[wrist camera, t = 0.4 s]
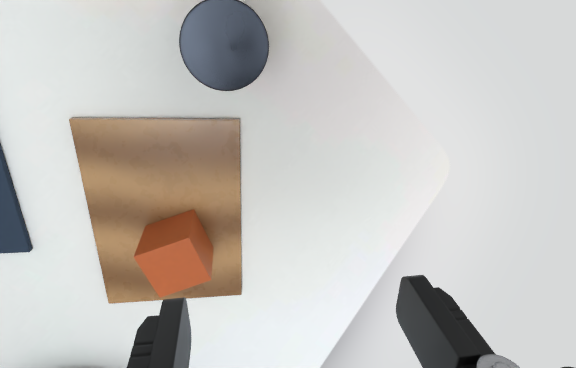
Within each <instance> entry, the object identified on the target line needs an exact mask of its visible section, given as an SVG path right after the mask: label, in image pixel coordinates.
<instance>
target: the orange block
mask: <svg viewBox="0 0 576 368" xmlns="http://www.w3.org/2000/svg"><path fill="white" fill-rule="evenodd" d="M134 259H135V260H136V262H137V263H138V265H139V266H140V268H141V269H142V271H143V273H144V274H145V276H146V277H147V279H148V280H149V282H150V283H151V285H152V286H153V288H154V290H155V291H156V293H157V294H158V296H159V297H160V298H161V297H164V296H167V295H170V294H173V293H176V292H178V291H181V290H184V289H187V288H190V287H193V286H196V285H199V284H201V283H204V282H207V281H210V280H211V278H212V263H213V246H212V244H211V242H210V240H209V238H208V236H207V234H206V232H205V230H204V228H203V226H202V224H201V222H200V221H199V219H198V217H197V215H196V213H195V211H194V209H192V210H190V211H187V212H184V213H181V214H178V215H175V216H172V217H169V218H167V219H164V220H161V221H158V222H155V223H152V224H149V225H146V226H145V228H144V231H143V233H142V236H141V239H140V241H139V244H138V246H137V249H136V252H135V254H134Z"/></svg>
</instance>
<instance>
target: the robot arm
mask: <svg viewBox="0 0 576 368" xmlns="http://www.w3.org/2000/svg"><path fill="white" fill-rule="evenodd" d="M396 314H397V318H398V322H399V324H400V326H401V328H402V330H403V331H404V333H405V335H406V337H407V339H408V341H409V343H410V344H411V346H412V348H413V350H414V352H415V354H416V356H417V358H418V359H419V361H420V363H421V365H422V367H423V368H519V366H517V365H516V364H515V363H514V362H512V361H511V360H509V359H507V358H505V357H503V356H499V355H496V354H495V353H494V352H493V351H492V350H491V348H490V347H489V345H488V344H487V343H486V341H485V340H484V339H483V337H482V336H481V335H480V334H479V332H478V331H477V330H476V328H475V327H474V326H473V324H472V323H471V322H470V321H469V319H467V317H466V315H465V314H464V313H463V311H462V310H460V307H459V306H458V305H457V303H456V302H455V301H454V300H453V298H452V297H451V296H450V295H448V294H447V293H446V292H444V291H443V290H442V289H440V288H433V287H432V285H431V284H430V282H429V281H428V280H427V278H426V277H425V276H423V275H416V276H406V277H402V279H401V283H400V288H399V294H398V299H397V304H396ZM190 350H191V327H190V321H189V314H188V308H187V301H186V298H185V297H183V298H173V299H164V300H163V302H162V306H161V310H160V315H159V316H149V317H147V318H146V319H145V320H144V322H143V323H142V324H141V326H140V327H139V328H138V330H137V334H136V337H135V341H134V346H133V348H132V351H131V357H130V359H129V362H128V366H127V368H189V359H190ZM562 368H573V367H562Z"/></svg>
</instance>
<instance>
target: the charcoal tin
mask: <svg viewBox="0 0 576 368" xmlns="http://www.w3.org/2000/svg"><path fill="white" fill-rule="evenodd" d="M179 45H180V52H181V55H182V58H183V61H184V63H185V65H186V67H187V69H188V70H189V71H190V73H191V74H192V75H193V76H194V77H195V78H196V79H197V80H198V81H199V82H201V83H202V84H204V85H206V86H208V87H210V88H213V89H216V90H221V91H233V90H238V89H241V88H243V87H245V86H247V85H249V84H251V83H252V82H253V81H254V80H255V79H256V78H257V77H258V76H259V75H260V74H261V72H262V71H263V69H264V67H265V64H266V62H267V58H268V52H269V41H268V35H267V32H266V29H265V26H264V24H263V22H262V21H261V19H260V18H259V16H258V15H257V14H256V13H255V12H254V10H253V9H251V8H250V7H249V6H248V5H246V4H244V3H243V2H241V1H239V0H204V1H202V2H200V3H199V4H197V5H196V6H195V7H194V8H193V9H192V10H191V11H190V12H189V13H188V14H187V16H186V18H185V19H184V22H183V24H182V27H181V31H180V37H179Z"/></svg>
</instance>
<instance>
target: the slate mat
mask: <svg viewBox="0 0 576 368" xmlns="http://www.w3.org/2000/svg"><path fill="white" fill-rule="evenodd" d="M31 250H32V246H31V242H30V239H29V236H28V232H27V229H26V226H25V223H24V219H23V216H22V213H21V210H20V206H19V203H18V200H17V197H16V193H15V190H14V187H13V184H12V180H11V177H10V174H9V171H8V167H7V164H6V161H5V158H4V154H3V151H2V148H1V145H0V253H18V252H30V251H31Z"/></svg>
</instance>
